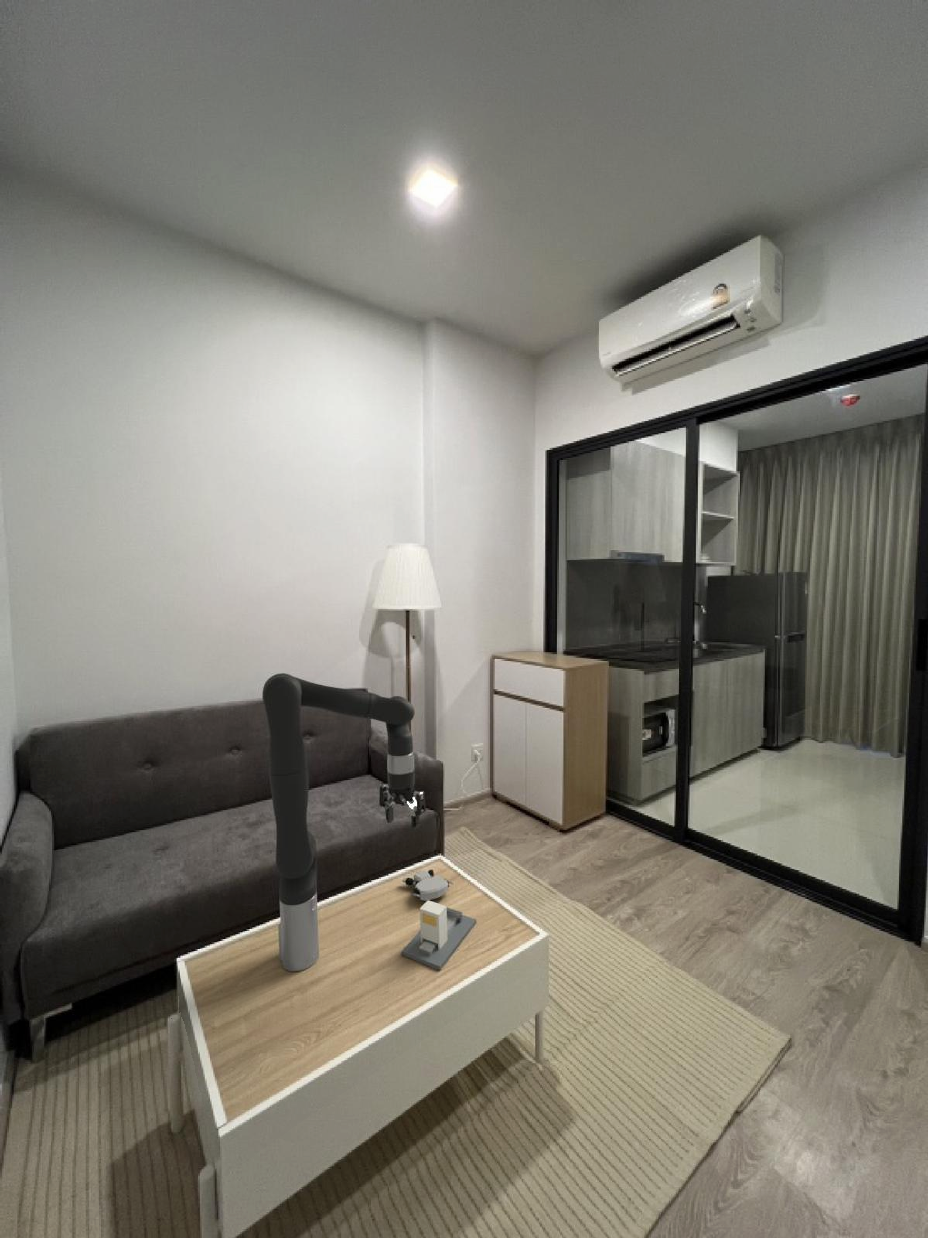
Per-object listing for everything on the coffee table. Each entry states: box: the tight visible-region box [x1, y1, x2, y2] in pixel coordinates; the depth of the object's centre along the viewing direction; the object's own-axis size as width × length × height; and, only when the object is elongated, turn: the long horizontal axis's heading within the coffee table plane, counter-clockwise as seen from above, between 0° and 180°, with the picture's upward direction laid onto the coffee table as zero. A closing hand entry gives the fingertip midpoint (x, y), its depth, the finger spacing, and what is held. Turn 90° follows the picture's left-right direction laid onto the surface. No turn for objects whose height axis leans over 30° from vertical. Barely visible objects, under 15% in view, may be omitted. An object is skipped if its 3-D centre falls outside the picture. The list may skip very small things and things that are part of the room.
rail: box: [419, 907, 463, 956], centre depth 133 cm, size 5×16×2 cm, turn 152°
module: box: [419, 900, 448, 950], centre depth 130 cm, size 6×4×9 cm
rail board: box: [401, 914, 477, 971], centre depth 133 cm, size 12×20×1 cm, turn 152°
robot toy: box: [401, 868, 454, 902], centre depth 155 cm, size 12×4×15 cm
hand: (402, 824), depth 136 cm, fingers open, 8 cm apart
